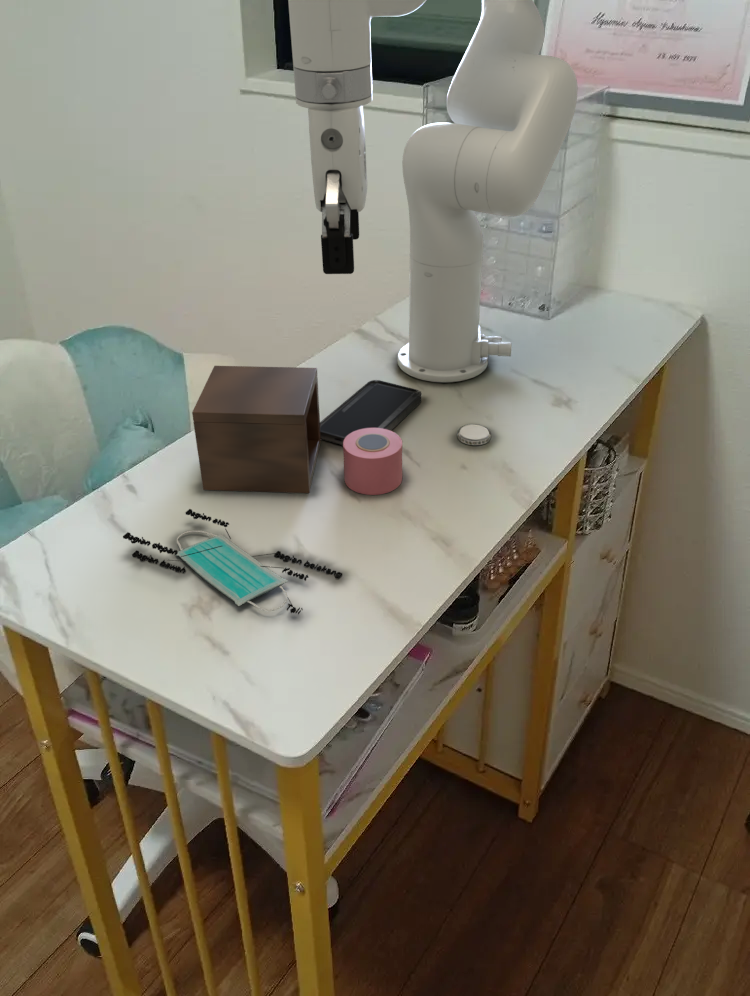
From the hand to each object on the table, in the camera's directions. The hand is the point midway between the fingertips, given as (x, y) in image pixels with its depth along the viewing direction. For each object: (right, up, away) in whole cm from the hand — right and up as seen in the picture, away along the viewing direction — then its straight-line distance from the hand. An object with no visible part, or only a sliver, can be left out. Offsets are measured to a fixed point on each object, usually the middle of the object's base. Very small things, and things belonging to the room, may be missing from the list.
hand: (342, 255), depth 98 cm
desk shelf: (-9, -22, +8) cm, 26 cm away
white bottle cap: (+16, -19, +13) cm, 28 cm away
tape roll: (+3, -24, +5) cm, 25 cm away
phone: (+3, -16, +17) cm, 23 cm away
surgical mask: (-11, -33, -8) cm, 36 cm away
